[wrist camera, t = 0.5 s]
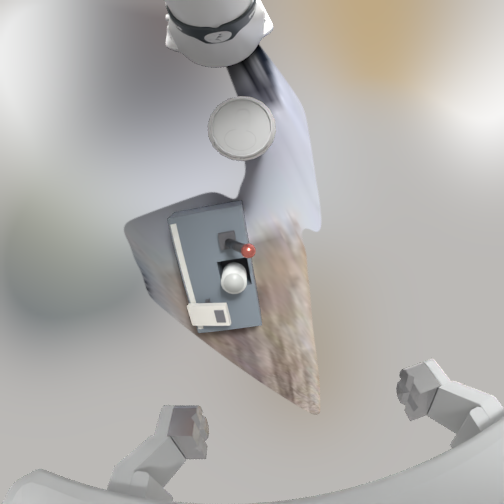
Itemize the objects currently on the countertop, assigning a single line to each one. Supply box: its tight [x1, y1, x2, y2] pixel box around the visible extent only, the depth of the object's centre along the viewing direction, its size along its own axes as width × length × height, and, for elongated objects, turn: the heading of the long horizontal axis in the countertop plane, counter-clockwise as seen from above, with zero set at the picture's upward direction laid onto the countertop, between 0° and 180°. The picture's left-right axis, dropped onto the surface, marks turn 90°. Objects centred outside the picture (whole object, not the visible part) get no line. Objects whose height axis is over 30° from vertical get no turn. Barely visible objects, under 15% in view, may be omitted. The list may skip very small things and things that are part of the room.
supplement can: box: [208, 96, 276, 161], centre depth 37 cm, size 8×8×15 cm
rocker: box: [187, 303, 231, 326], centre depth 47 cm, size 4×7×1 cm, turn 99°
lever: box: [225, 238, 256, 258], centre depth 41 cm, size 2×2×7 cm
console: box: [167, 200, 262, 333], centre depth 49 cm, size 22×12×6 cm, turn 9°
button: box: [221, 262, 247, 294], centre depth 46 cm, size 4×4×4 cm
